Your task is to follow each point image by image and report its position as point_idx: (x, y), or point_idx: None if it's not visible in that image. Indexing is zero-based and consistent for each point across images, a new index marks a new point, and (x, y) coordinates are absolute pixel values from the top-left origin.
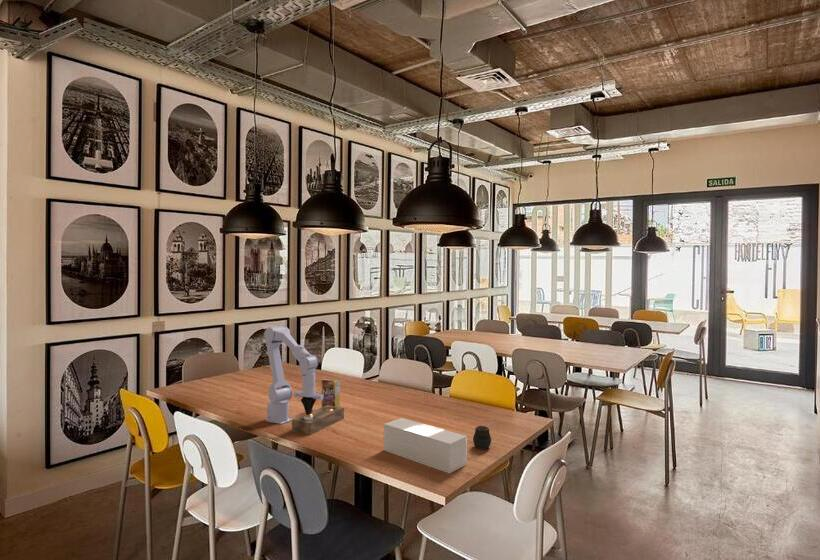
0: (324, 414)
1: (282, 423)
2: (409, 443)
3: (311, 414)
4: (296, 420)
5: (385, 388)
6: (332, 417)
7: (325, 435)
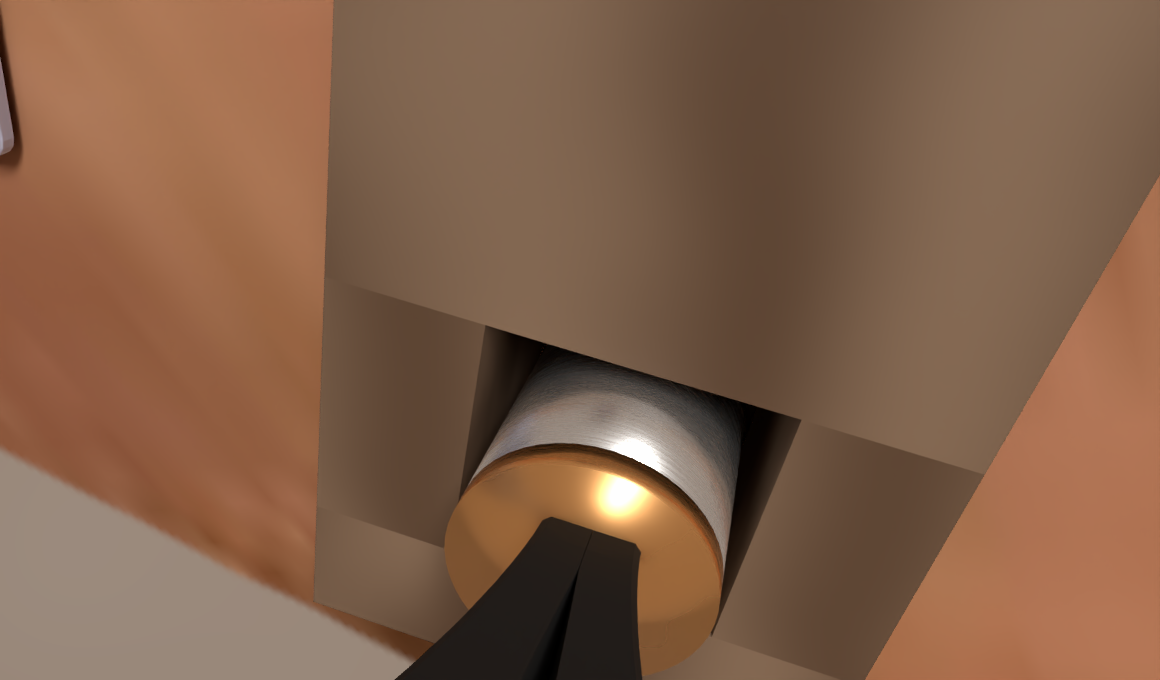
0: (1014, 19)
1: (9, 131)
2: None
3: (686, 609)
4: (419, 629)
5: None
6: None
7: (1129, 588)
